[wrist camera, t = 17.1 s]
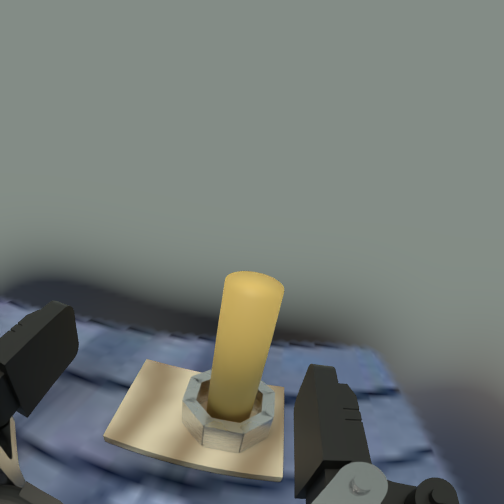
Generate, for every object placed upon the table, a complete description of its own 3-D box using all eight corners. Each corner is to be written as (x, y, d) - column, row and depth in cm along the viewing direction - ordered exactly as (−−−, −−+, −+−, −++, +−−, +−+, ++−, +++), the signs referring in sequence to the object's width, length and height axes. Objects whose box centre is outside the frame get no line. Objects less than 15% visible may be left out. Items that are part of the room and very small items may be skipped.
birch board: (104, 441, 23) (103, 435, 23) (147, 364, 35) (146, 359, 35) (280, 481, 22) (282, 477, 22) (282, 392, 35) (284, 387, 34)
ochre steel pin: (201, 430, 26) (220, 292, 21) (209, 400, 30) (229, 267, 25) (246, 439, 26) (284, 304, 21) (249, 408, 30) (283, 277, 25)
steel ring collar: (175, 440, 24) (175, 419, 23) (194, 383, 33) (196, 361, 31) (265, 457, 24) (273, 437, 23) (269, 397, 32) (275, 376, 31)
